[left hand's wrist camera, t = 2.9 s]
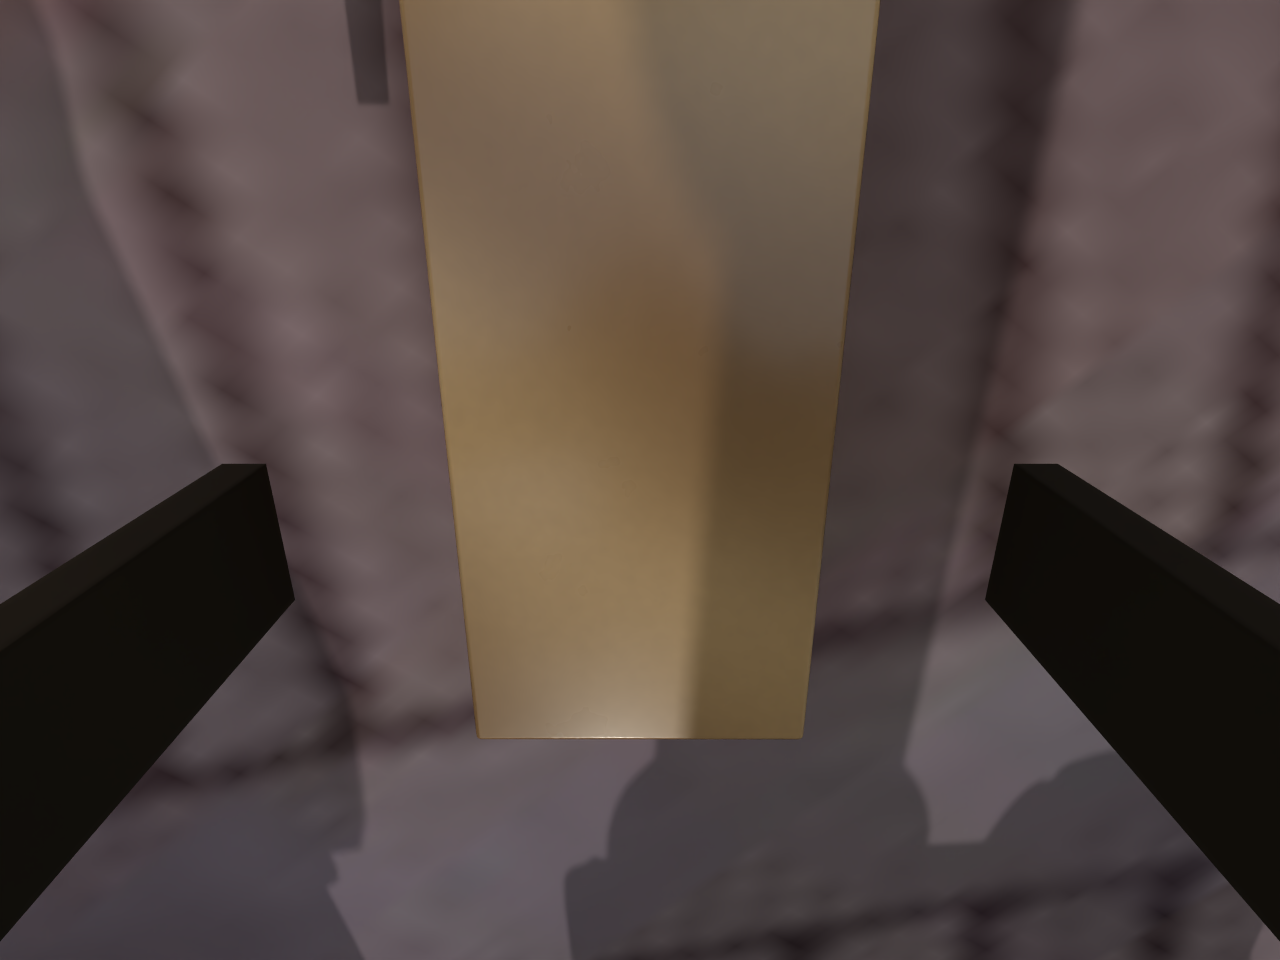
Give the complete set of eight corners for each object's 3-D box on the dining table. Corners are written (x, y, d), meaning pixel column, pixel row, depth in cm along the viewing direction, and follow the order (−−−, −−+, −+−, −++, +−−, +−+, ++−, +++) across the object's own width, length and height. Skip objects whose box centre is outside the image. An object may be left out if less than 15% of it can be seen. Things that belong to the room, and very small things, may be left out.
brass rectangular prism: (491, -317, 14) (285, -1046, 6) (789, -318, 14) (994, -1047, 6) (540, 534, 21) (475, 741, 13) (740, 534, 21) (804, 741, 13)
